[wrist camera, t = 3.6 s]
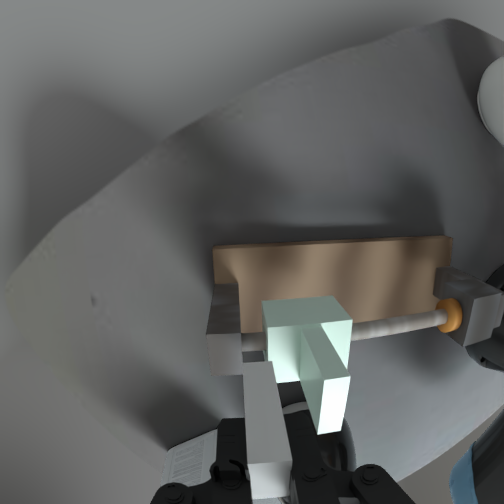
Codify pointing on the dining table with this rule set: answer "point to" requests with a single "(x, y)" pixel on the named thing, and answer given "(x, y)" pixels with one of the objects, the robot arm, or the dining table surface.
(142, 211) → the dining table surface
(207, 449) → the photo printer
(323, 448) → the pump dispenser
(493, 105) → the lidded bowl
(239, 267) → the rod stand
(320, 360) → the pale green block
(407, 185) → the dining table surface
